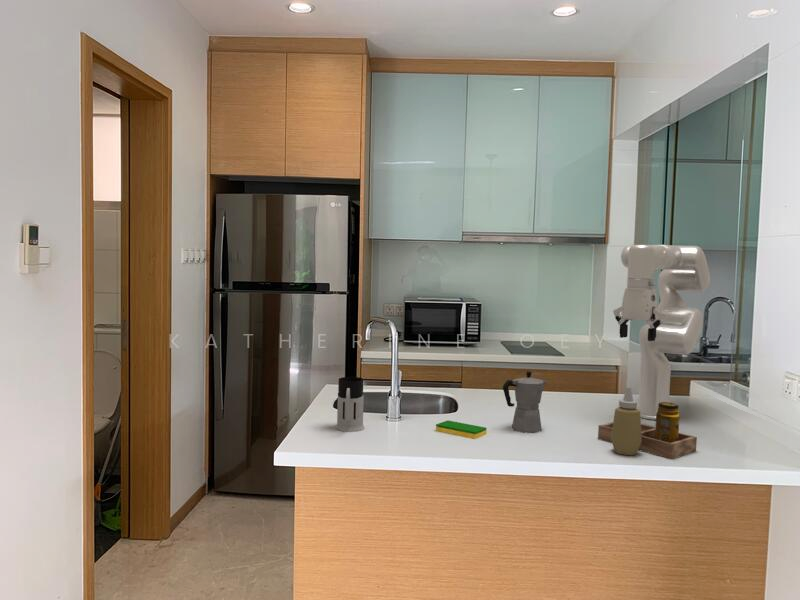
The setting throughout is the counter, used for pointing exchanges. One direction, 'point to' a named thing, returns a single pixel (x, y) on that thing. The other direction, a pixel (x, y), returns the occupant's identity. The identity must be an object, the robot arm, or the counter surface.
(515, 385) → the coffeepot
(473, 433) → the dish sponge
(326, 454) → the counter surface
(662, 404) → the condiment
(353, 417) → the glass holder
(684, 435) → the caddy
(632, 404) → the squeeze bottle
